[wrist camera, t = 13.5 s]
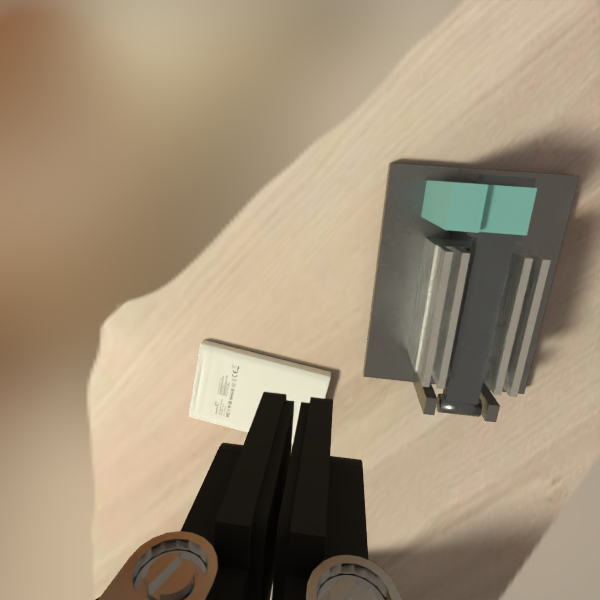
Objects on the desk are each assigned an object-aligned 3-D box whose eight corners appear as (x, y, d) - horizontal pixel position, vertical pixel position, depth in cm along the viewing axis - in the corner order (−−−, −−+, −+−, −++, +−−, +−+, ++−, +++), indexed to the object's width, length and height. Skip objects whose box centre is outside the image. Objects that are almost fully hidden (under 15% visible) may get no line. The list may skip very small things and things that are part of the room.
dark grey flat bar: (475, 410, 33) (481, 420, 32) (434, 405, 33) (438, 415, 32) (527, 177, 28) (536, 178, 26) (478, 174, 28) (484, 174, 27)
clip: (485, 221, 33) (530, 236, 25) (421, 216, 33) (445, 230, 25) (492, 185, 32) (542, 188, 24) (426, 180, 33) (453, 182, 24)
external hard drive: (311, 440, 42) (193, 409, 43) (331, 369, 40) (205, 337, 40) (310, 450, 41) (187, 418, 41) (331, 377, 38) (199, 343, 38)
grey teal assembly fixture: (519, 388, 38) (559, 437, 31) (363, 371, 39) (367, 415, 32) (572, 175, 32) (635, 175, 25) (389, 163, 33) (401, 160, 26)
